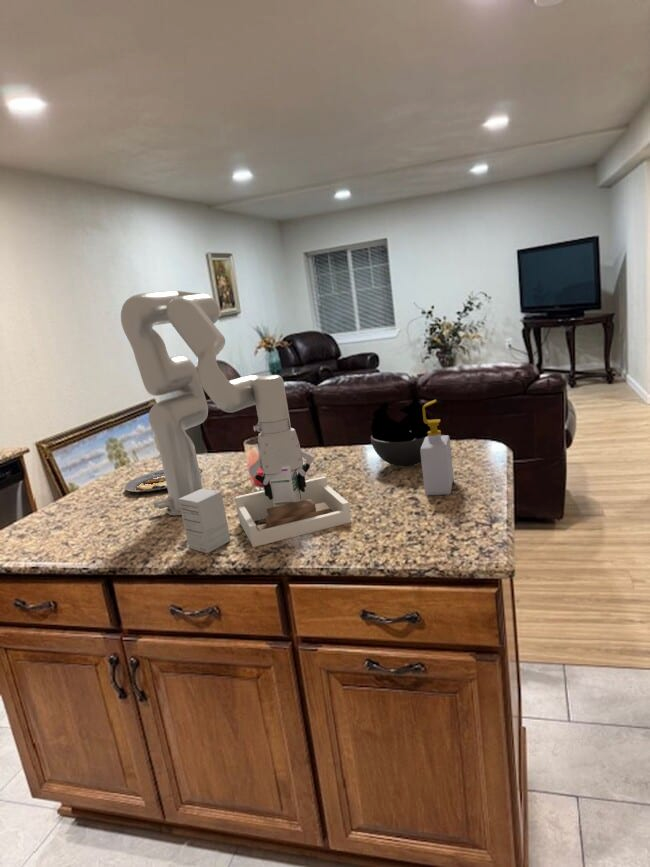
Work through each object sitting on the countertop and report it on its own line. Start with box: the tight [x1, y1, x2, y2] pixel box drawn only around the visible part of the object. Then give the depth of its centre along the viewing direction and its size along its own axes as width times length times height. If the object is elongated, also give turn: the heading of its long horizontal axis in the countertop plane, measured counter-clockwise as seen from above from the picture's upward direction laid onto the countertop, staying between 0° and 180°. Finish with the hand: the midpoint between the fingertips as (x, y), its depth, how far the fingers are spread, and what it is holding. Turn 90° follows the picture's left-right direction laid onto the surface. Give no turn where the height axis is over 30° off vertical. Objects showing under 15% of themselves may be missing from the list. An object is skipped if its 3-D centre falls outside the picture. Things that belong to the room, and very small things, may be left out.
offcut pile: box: [256, 499, 332, 531], centre depth 145 cm, size 18×6×6 cm, turn 106°
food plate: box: [124, 467, 203, 493], centre depth 200 cm, size 25×23×4 cm
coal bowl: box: [370, 402, 432, 468], centre depth 179 cm, size 20×20×19 cm
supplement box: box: [178, 488, 232, 554], centre depth 140 cm, size 7×7×13 cm
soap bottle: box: [420, 399, 454, 496], centre depth 155 cm, size 12×7×23 cm, turn 165°
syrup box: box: [269, 465, 302, 507], centre depth 150 cm, size 6×6×14 cm
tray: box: [234, 476, 352, 548], centre depth 148 cm, size 24×18×7 cm
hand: (286, 493), depth 150 cm, fingers closed on syrup box, 7 cm apart
